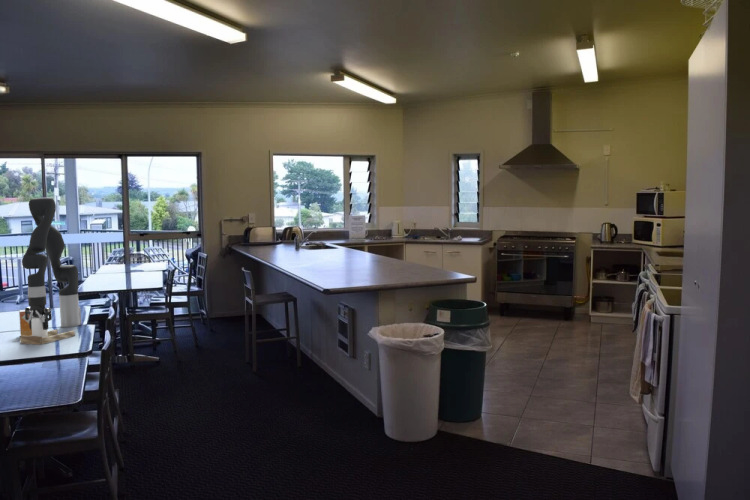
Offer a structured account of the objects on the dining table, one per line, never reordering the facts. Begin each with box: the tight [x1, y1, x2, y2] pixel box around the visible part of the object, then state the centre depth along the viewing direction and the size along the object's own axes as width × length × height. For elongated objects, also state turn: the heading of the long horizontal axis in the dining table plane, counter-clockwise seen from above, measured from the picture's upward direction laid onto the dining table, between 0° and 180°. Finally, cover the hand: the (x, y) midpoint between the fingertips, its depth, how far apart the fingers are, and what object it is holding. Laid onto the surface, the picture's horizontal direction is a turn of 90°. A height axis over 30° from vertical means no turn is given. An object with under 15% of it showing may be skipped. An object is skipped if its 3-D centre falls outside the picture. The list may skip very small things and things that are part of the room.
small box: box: [18, 309, 32, 336], centre depth 298 cm, size 8×6×13 cm
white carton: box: [31, 317, 48, 338], centre depth 283 cm, size 6×6×12 cm
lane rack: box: [19, 329, 75, 346], centre depth 287 cm, size 20×12×4 cm, turn 160°
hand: (39, 329), depth 283 cm, fingers open, 8 cm apart
